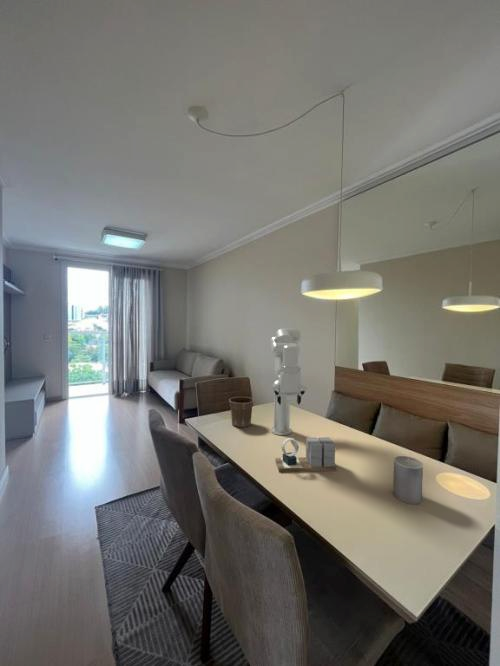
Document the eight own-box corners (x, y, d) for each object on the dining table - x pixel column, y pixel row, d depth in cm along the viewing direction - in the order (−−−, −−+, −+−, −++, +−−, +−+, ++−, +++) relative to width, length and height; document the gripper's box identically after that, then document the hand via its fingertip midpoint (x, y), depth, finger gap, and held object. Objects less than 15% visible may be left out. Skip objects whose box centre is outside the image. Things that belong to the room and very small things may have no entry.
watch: (300, 463, 130) (301, 439, 129) (284, 466, 127) (285, 442, 127) (294, 458, 135) (295, 435, 135) (279, 460, 132) (279, 437, 132)
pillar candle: (396, 486, 116) (397, 450, 115) (424, 495, 110) (425, 457, 109) (390, 497, 108) (391, 459, 108) (419, 508, 102) (420, 467, 101)
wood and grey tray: (275, 461, 135) (275, 437, 135) (328, 460, 137) (329, 436, 137) (279, 472, 125) (279, 446, 125) (336, 470, 127) (337, 445, 127)
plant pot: (225, 421, 188) (225, 397, 187) (247, 418, 195) (247, 395, 194) (234, 430, 173) (234, 404, 173) (257, 426, 180) (258, 401, 179)
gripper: (305, 368, 146) (303, 401, 147) (271, 368, 144) (270, 401, 146) (309, 371, 138) (308, 406, 139) (273, 371, 137) (273, 406, 138)
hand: (289, 403), depth 143 cm, fingers open, 9 cm apart
